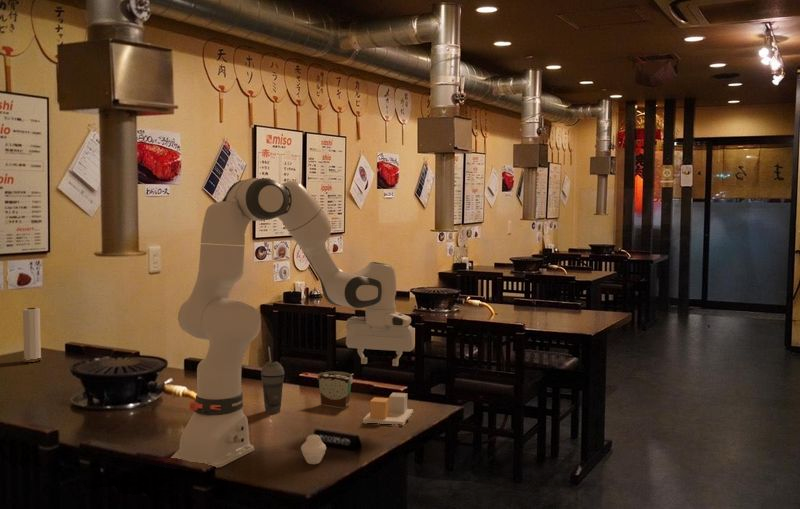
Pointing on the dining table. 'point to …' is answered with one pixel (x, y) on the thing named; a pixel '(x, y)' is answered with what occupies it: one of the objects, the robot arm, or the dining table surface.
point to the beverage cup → (272, 385)
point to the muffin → (313, 449)
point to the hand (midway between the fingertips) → (379, 364)
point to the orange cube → (379, 408)
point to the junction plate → (394, 411)
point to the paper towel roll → (31, 333)
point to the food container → (335, 389)
